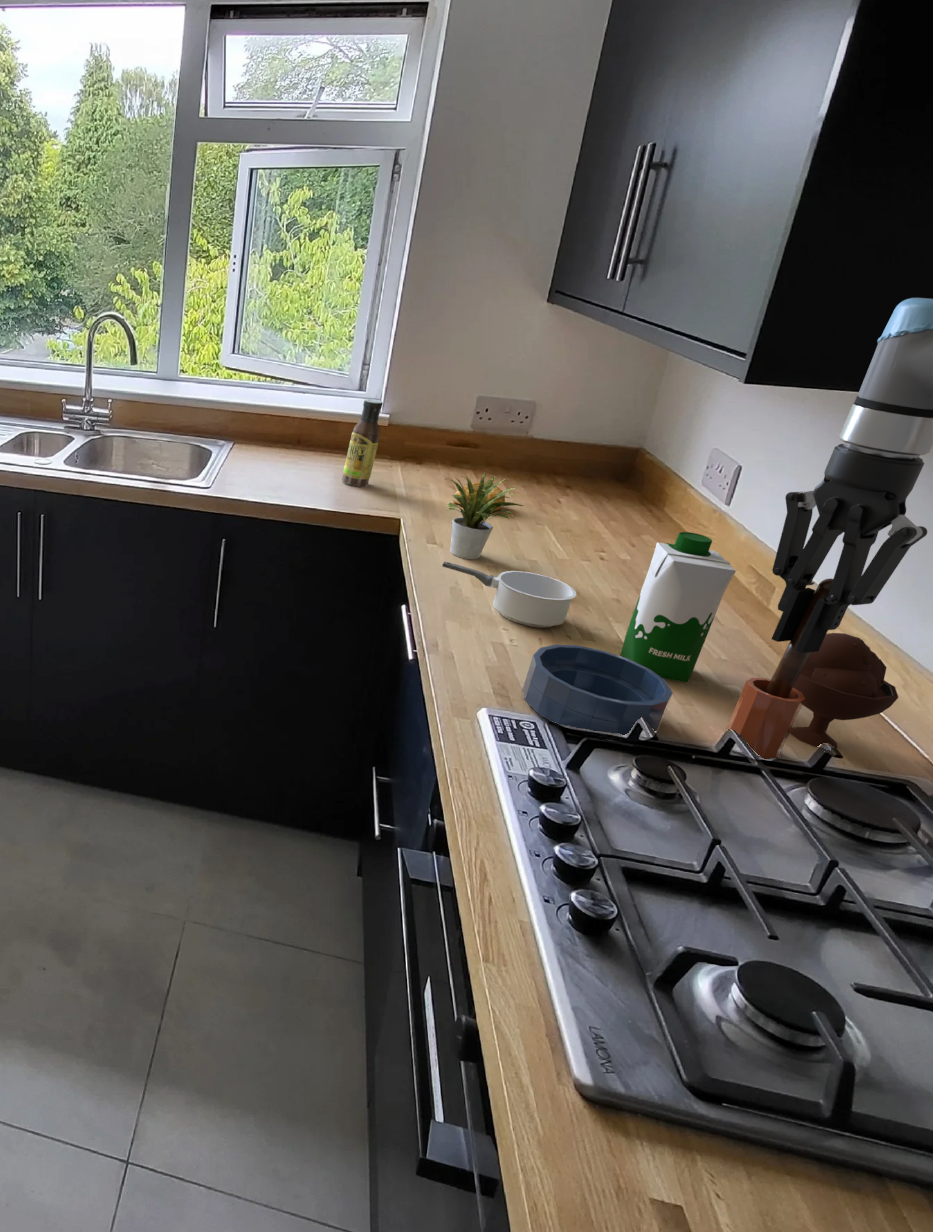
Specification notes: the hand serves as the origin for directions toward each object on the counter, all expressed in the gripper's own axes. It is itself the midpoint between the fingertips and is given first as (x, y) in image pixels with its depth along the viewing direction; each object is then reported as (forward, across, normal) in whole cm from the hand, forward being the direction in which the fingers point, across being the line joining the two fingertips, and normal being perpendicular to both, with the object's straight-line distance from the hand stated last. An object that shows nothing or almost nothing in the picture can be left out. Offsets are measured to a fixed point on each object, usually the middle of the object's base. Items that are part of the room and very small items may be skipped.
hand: (794, 644), depth 104 cm
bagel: (+15, +91, -38) cm, 100 cm away
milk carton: (+15, +20, -7) cm, 26 cm away
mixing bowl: (+15, +12, +13) cm, 23 cm away
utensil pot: (+15, 0, 0) cm, 15 cm away
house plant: (+15, +64, -11) cm, 67 cm away
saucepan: (+15, +42, 0) cm, 45 cm away
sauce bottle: (+15, +109, -18) cm, 111 cm away
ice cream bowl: (+15, 0, -11) cm, 19 cm away
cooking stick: (+14, 0, 0) cm, 14 cm away
